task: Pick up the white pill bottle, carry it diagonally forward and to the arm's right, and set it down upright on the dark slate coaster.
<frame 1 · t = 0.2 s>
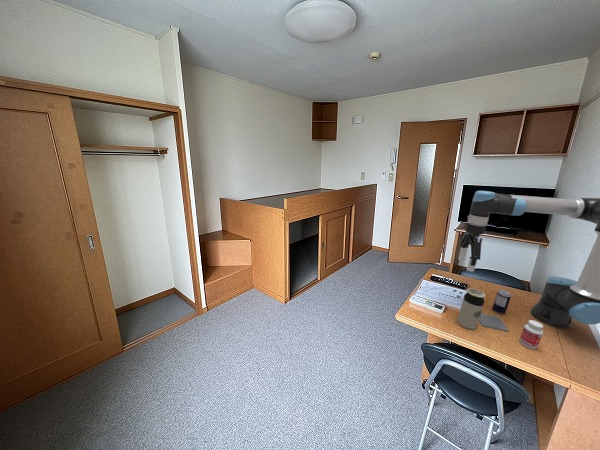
hand: (465, 265, 120), 28 cm above the table, fingers open, 13 cm apart
travel mug: (466, 324, 120), on the table
beverage can: (498, 311, 131), on the table
pill bottle: (527, 344, 109), on the table
coaster: (490, 321, 122), on the table
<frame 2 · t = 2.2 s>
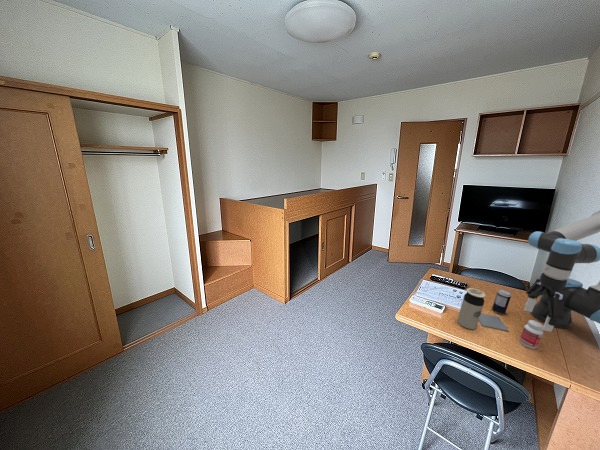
hand: (536, 320, 105), 13 cm above the table, fingers open, 13 cm apart
nothing on the table moved.
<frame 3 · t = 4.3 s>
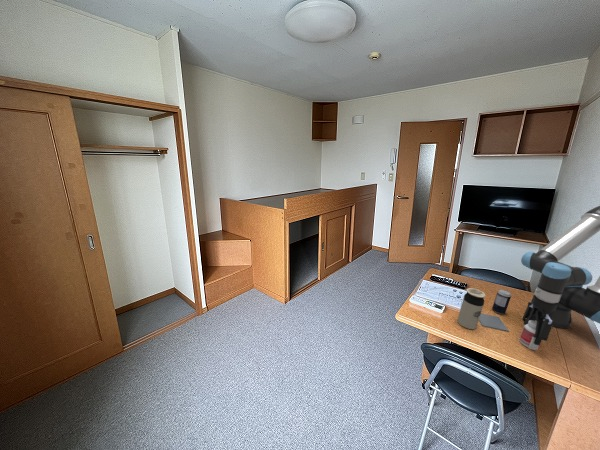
hand: (528, 343, 109), 0 cm above the table, fingers closed on pill bottle, 6 cm apart
pill bottle: (527, 344, 109), on the table, touching gripper
everything else where it was.
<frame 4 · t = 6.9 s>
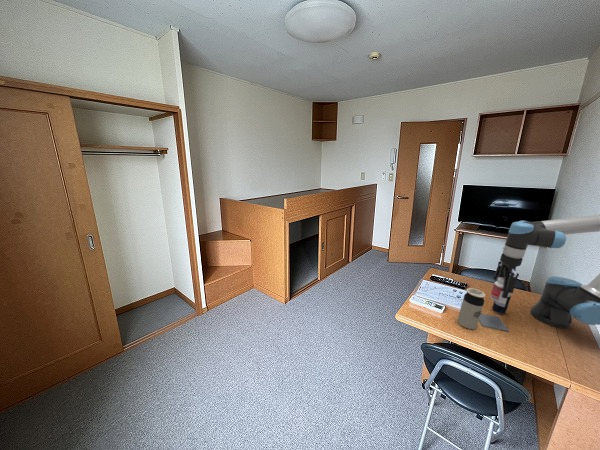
hand: (497, 298, 119), 13 cm above the table, fingers closed on pill bottle, 6 cm apart
pill bottle: (497, 299, 119), point 13 cm above the table, touching gripper
everything else where it was.
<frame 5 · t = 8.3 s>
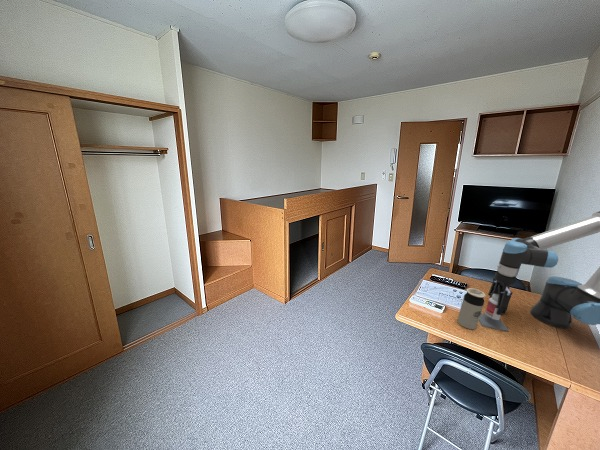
hand: (492, 314, 121), 4 cm above the table, fingers closed on pill bottle, 6 cm apart
pill bottle: (491, 315, 121), point 4 cm above the table, touching gripper
everything else where it was.
when the fingers open (2 cm above the table, at t = 9.4 s): pill bottle drops 1 cm, resting on coaster.
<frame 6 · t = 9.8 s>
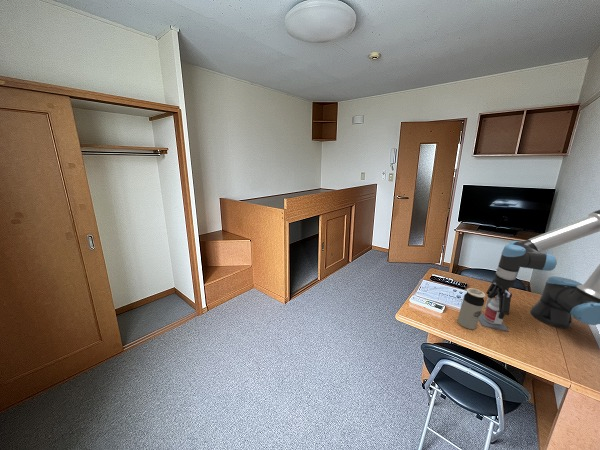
hand: (492, 315, 121), 4 cm above the table, fingers open, 11 cm apart
pill bottle: (490, 321, 122), resting on coaster
everything else where it was.
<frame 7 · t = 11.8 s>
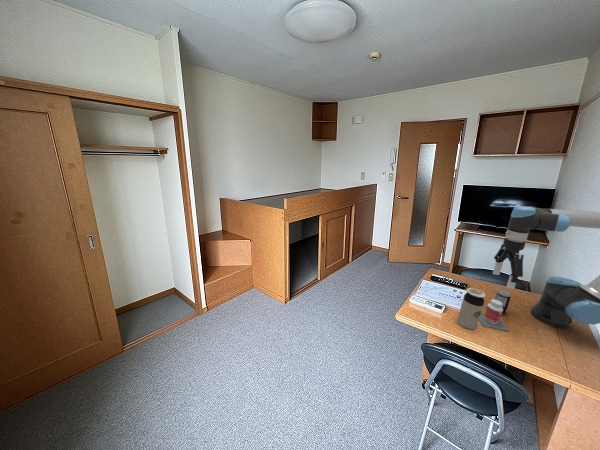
hand: (502, 280, 118), 22 cm above the table, fingers open, 13 cm apart
nothing on the table moved.
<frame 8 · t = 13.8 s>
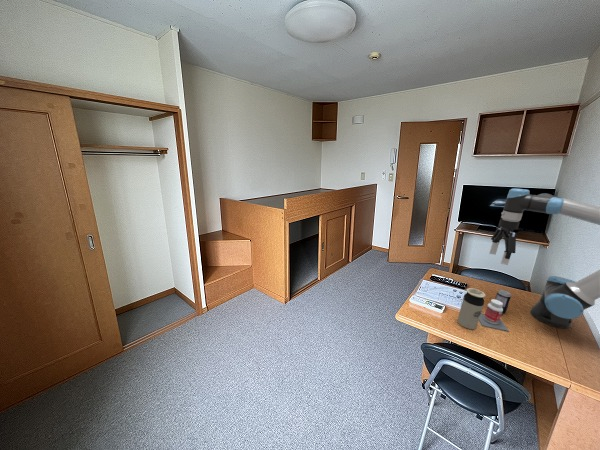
hand: (497, 258, 127), 29 cm above the table, fingers open, 13 cm apart
nothing on the table moved.
at the end: pill bottle inside the target area on the coaster (0.1 cm from its centre), point 0.4 cm above the coaster's base; pill bottle tilted 0°; the gripper is holding nothing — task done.
